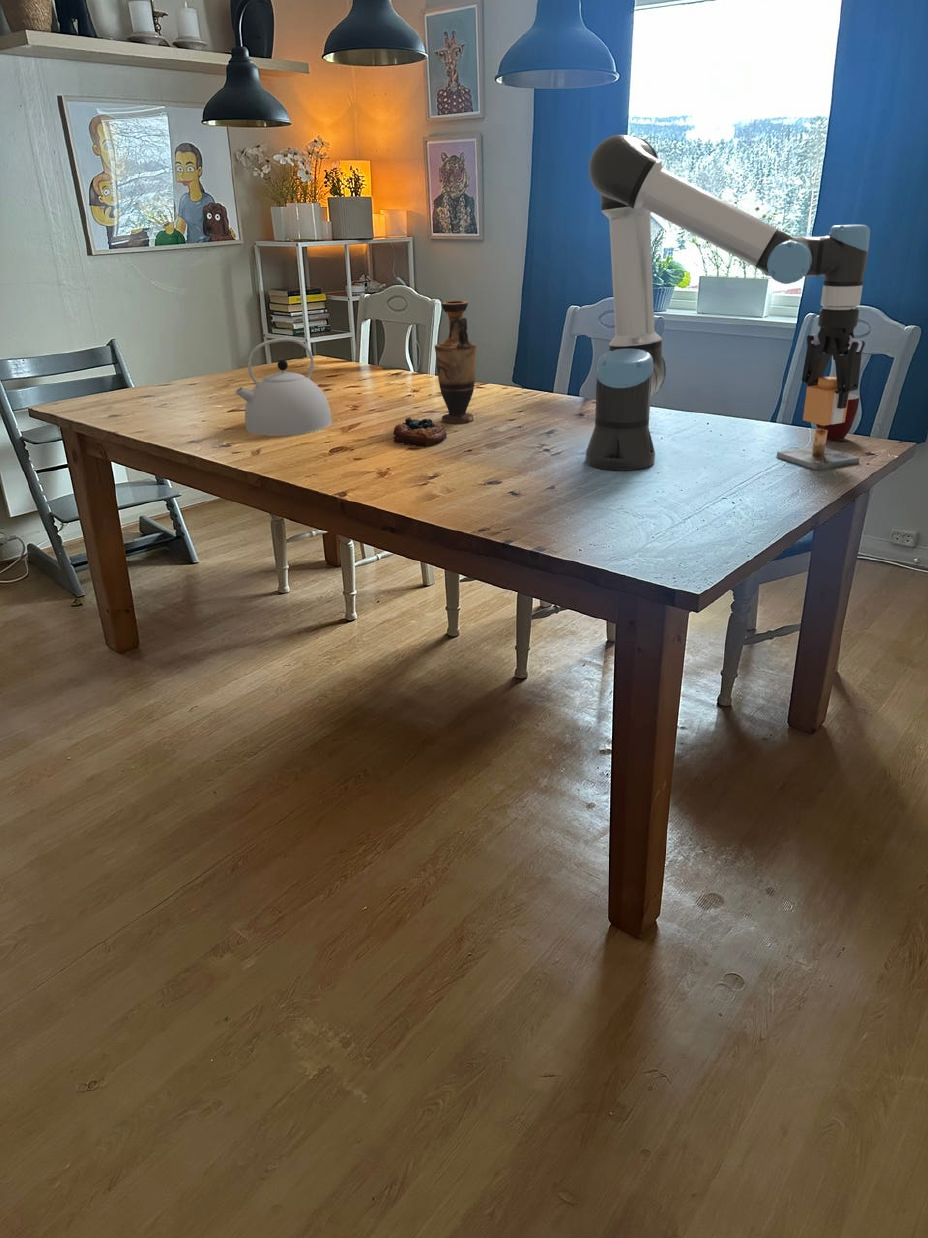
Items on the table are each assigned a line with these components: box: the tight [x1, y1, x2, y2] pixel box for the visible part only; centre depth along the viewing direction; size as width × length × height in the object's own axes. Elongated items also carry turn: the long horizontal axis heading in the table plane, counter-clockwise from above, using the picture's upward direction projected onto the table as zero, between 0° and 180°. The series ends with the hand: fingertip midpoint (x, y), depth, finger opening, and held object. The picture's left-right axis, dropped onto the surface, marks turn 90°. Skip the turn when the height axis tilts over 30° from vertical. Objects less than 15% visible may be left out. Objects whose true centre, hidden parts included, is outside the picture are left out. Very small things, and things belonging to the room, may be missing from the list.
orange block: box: [802, 376, 850, 426], centre depth 190 cm, size 6×6×9 cm
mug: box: [815, 393, 860, 441], centre depth 210 cm, size 10×8×10 cm
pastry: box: [392, 416, 448, 448], centre depth 219 cm, size 11×12×6 cm
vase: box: [434, 300, 478, 424], centre depth 232 cm, size 11×11×30 cm
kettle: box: [234, 337, 333, 437], centre depth 233 cm, size 25×23×22 cm
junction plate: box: [776, 428, 860, 472], centre depth 195 cm, size 12×12×7 cm
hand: (824, 419), depth 192 cm, fingers closed on orange block, 6 cm apart
